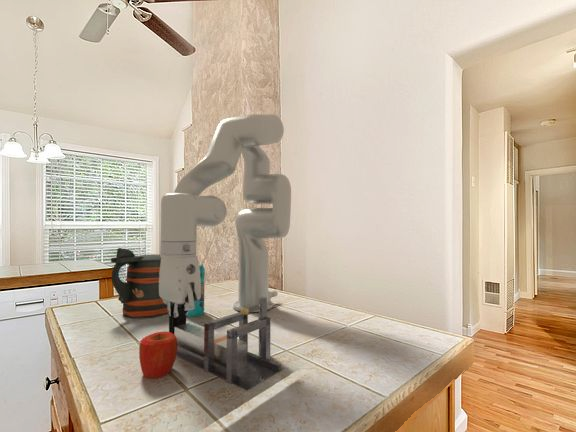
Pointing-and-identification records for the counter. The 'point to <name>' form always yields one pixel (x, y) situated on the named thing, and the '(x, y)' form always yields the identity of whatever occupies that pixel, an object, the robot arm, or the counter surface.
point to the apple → (157, 354)
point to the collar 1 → (209, 336)
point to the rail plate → (245, 376)
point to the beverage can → (200, 304)
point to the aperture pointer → (262, 313)
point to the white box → (193, 341)
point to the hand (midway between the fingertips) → (177, 333)
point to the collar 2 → (242, 330)
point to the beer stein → (138, 284)
